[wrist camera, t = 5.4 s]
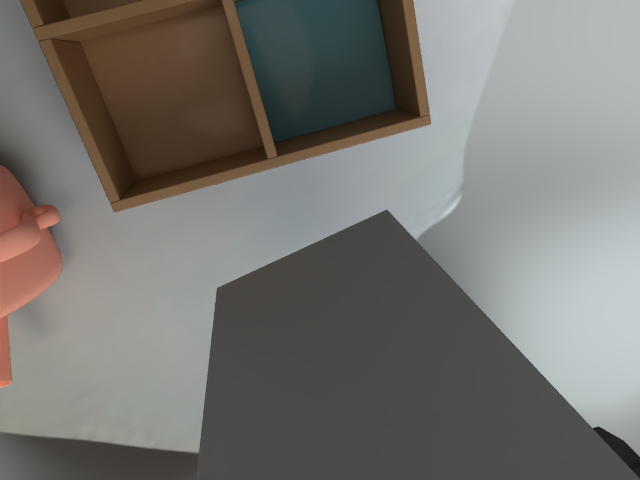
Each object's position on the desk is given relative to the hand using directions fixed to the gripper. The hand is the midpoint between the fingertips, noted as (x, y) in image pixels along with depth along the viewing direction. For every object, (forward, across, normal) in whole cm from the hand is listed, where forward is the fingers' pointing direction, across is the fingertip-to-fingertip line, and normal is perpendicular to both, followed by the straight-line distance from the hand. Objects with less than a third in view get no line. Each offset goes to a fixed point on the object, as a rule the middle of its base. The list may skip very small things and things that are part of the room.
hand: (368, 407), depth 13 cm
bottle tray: (+21, -1, +13) cm, 25 cm away
